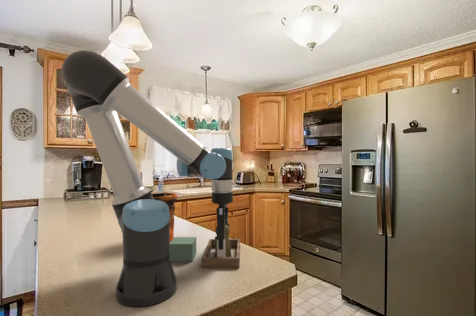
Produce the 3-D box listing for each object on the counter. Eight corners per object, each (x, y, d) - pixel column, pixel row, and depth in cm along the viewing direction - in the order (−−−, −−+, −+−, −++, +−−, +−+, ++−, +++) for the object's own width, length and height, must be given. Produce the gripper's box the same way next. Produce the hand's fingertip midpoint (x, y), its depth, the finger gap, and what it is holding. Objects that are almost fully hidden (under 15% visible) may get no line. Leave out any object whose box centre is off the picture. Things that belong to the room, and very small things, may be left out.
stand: (192, 261, 91) (192, 244, 91) (168, 261, 91) (168, 244, 91) (196, 253, 99) (196, 236, 99) (174, 253, 99) (174, 237, 99)
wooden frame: (239, 267, 85) (239, 258, 85) (201, 267, 86) (201, 258, 85) (240, 246, 105) (240, 239, 105) (209, 246, 106) (209, 239, 105)
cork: (222, 251, 100) (222, 222, 100) (235, 255, 96) (234, 224, 96) (210, 256, 95) (210, 225, 95) (223, 260, 91) (223, 228, 91)
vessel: (170, 247, 104) (168, 196, 105) (136, 247, 107) (134, 197, 107) (183, 237, 119) (182, 191, 119) (153, 236, 121) (151, 192, 121)
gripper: (231, 196, 83) (231, 265, 83) (234, 187, 108) (234, 240, 108) (206, 196, 83) (207, 265, 83) (215, 187, 108) (216, 240, 108)
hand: (222, 251), depth 95 cm, fingers open, 13 cm apart
